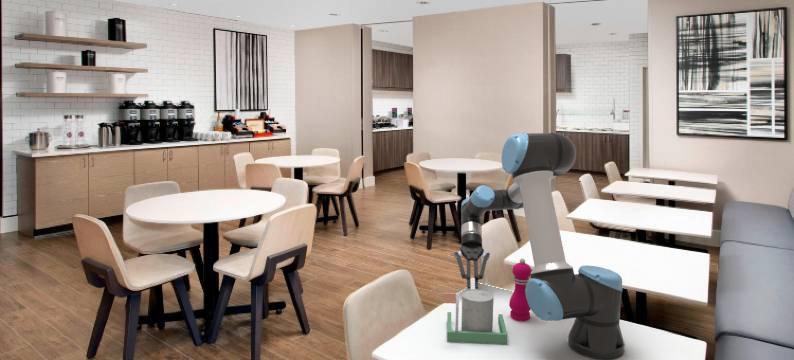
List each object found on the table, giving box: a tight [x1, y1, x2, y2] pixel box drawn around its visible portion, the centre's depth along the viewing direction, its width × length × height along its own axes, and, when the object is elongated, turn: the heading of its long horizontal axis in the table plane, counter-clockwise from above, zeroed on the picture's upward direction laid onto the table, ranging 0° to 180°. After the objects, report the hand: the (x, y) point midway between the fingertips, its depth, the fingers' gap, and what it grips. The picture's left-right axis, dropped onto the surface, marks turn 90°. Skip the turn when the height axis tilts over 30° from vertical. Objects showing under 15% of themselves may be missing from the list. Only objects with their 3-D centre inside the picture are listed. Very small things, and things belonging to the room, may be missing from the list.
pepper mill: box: [508, 258, 532, 322], centre depth 166 cm, size 7×7×20 cm
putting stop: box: [442, 292, 509, 345], centre depth 156 cm, size 19×14×15 cm
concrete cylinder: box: [460, 289, 495, 332], centre depth 155 cm, size 10×10×12 cm
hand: (472, 296), depth 176 cm, fingers closed
